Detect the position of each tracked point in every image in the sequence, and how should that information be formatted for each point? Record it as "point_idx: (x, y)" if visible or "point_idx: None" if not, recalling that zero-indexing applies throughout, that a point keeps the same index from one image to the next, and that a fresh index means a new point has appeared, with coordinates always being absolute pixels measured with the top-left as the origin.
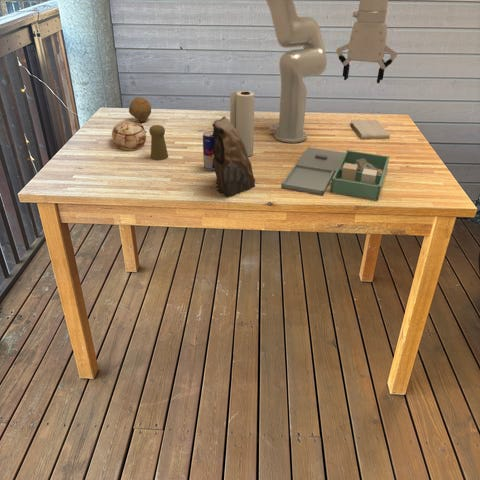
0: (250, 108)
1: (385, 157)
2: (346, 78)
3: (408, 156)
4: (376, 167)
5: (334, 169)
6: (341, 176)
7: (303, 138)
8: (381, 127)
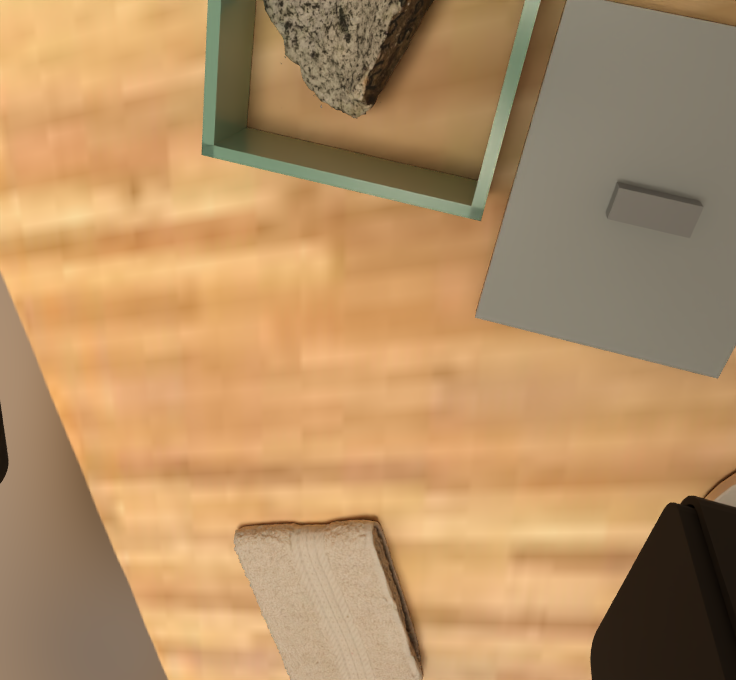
0: None
1: (226, 147)
2: (679, 517)
3: (138, 327)
4: (294, 139)
5: (577, 18)
6: None
7: (729, 492)
8: (271, 607)
